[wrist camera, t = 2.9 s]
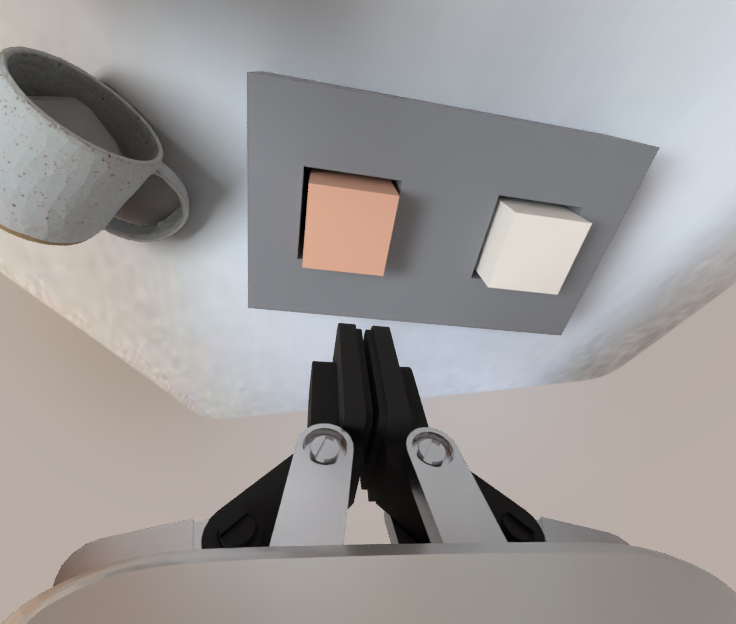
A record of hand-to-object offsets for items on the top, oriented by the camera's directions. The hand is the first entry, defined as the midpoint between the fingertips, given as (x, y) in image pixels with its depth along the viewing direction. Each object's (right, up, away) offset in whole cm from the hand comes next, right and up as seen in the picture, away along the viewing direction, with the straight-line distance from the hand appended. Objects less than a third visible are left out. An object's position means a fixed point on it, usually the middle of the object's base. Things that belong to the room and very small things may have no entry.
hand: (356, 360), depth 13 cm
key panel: (+5, +9, +16) cm, 19 cm away
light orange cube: (-1, +9, +13) cm, 16 cm away
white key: (+11, +8, +15) cm, 20 cm away
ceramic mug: (-16, +12, +13) cm, 24 cm away
